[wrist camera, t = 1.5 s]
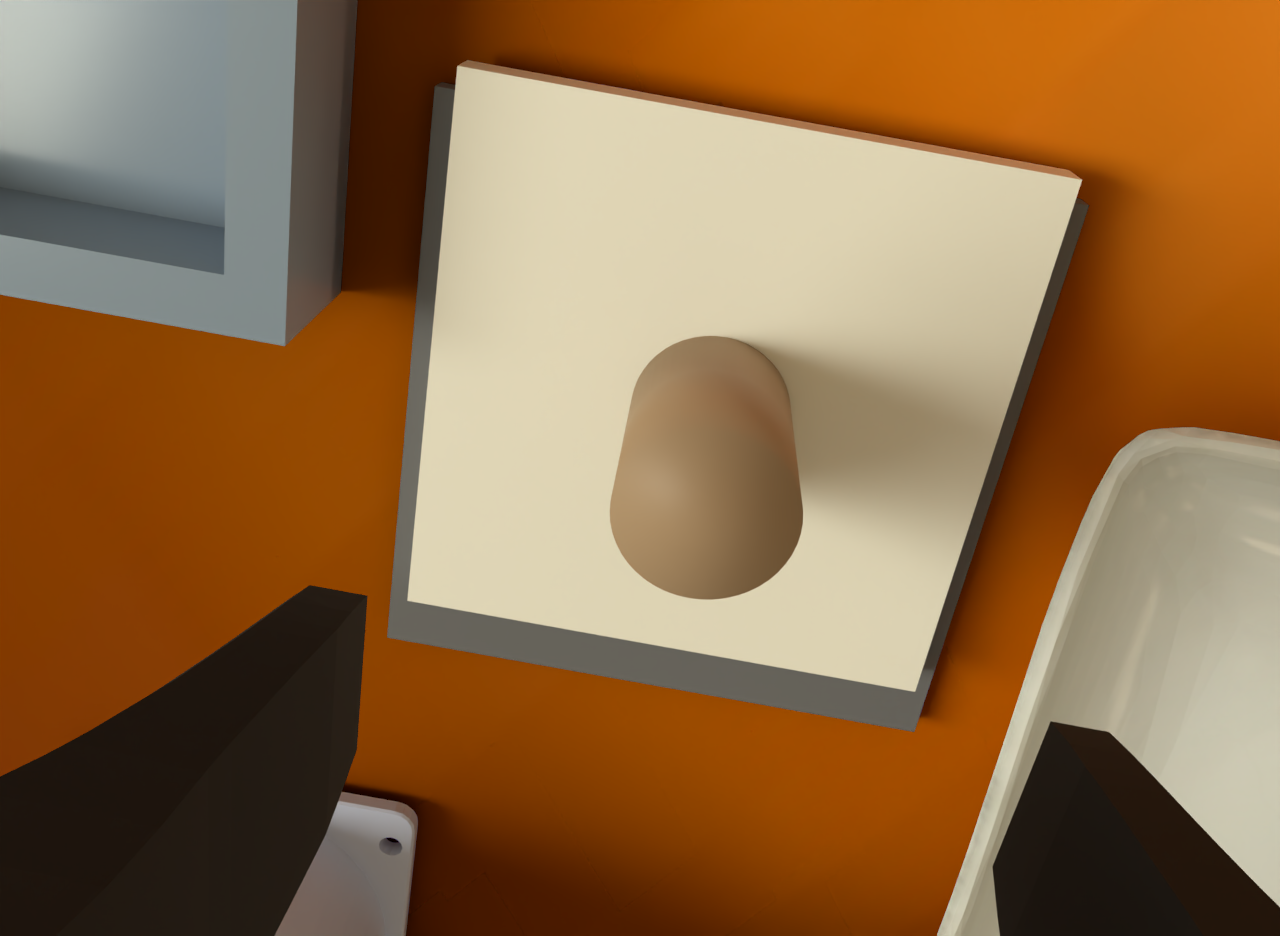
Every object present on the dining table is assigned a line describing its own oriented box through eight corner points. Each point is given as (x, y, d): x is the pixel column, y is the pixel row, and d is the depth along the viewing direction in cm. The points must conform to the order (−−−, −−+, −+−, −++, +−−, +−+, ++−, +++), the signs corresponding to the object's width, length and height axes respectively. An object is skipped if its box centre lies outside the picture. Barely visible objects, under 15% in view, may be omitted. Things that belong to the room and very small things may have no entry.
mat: (911, 716, 25) (914, 731, 24) (393, 624, 25) (386, 637, 24) (1080, 198, 20) (1088, 205, 19) (441, 81, 20) (434, 86, 19)
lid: (909, 667, 24) (949, 837, 19) (417, 579, 23) (346, 729, 19) (1069, 169, 19) (1166, 243, 15) (467, 60, 19) (390, 102, 15)
